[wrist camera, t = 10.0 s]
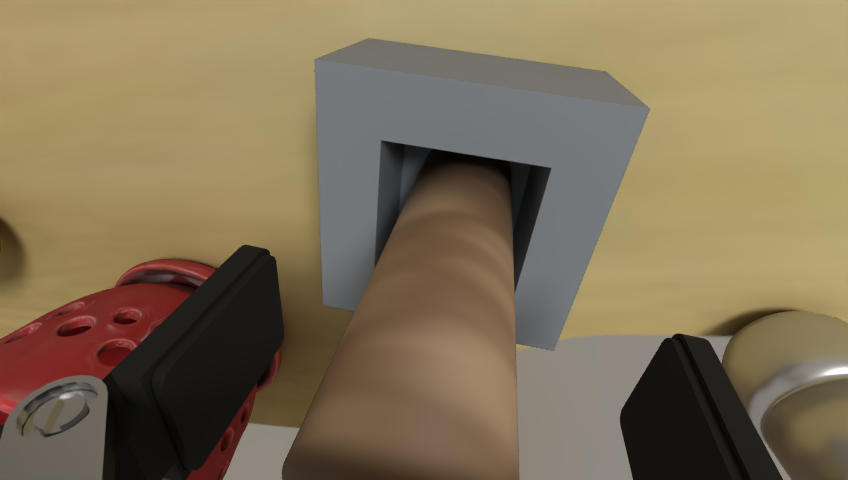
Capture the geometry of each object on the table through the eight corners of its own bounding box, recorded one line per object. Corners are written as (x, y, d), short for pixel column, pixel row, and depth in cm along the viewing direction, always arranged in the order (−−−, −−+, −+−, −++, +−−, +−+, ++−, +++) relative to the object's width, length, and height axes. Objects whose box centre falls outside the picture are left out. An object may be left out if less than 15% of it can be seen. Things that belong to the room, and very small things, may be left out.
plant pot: (232, 215, 24) (33, 383, 14) (327, 372, 30) (237, 569, 20) (77, 255, 28) (-167, 409, 18) (188, 386, 34) (54, 557, 24)
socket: (606, 71, 17) (650, 108, 12) (542, 268, 22) (553, 351, 17) (368, 38, 18) (314, 59, 13) (362, 235, 23) (322, 305, 18)
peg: (520, 142, 17) (551, 468, 6) (500, 223, 20) (493, 583, 8) (427, 127, 18) (271, 405, 6) (418, 209, 20) (289, 532, 8)
